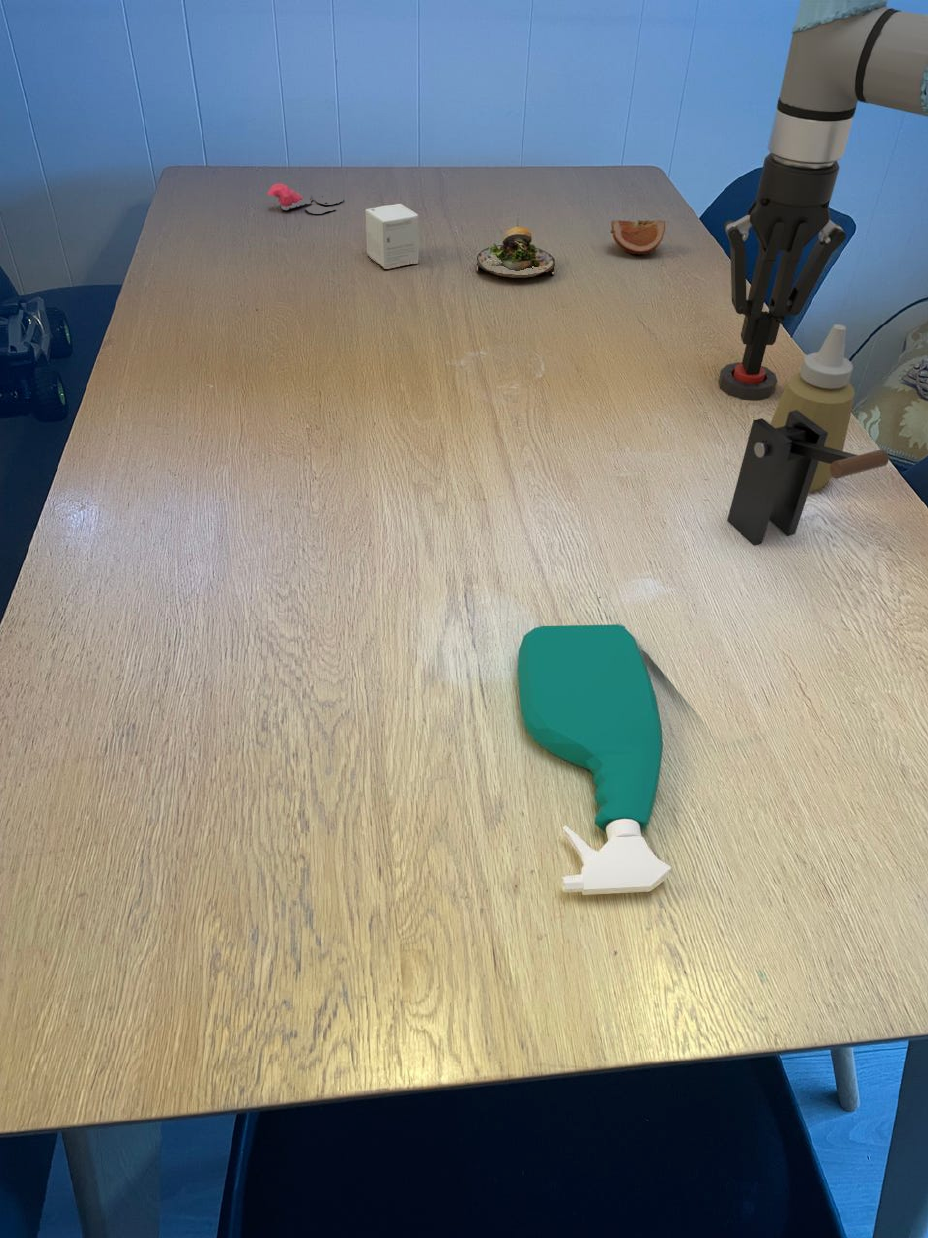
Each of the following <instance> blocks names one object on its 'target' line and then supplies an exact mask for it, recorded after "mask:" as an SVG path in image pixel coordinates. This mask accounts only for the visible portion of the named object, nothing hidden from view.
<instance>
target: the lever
mask: <svg viewBox="0 0 928 1238" xmlns="http://www.w3.org/2000/svg"><path fill="white" fill-rule="evenodd" d="M776 429H777V430H778V431H779V432H781V433H782V434H783V435H785V436H786V437H787V438H788V439H790V440H791V441H792V445H791V449H790V452H789V455H788V459H787V461H790V460H794V459H798V458H802V457H808V458H811V459H814V460H818V461H821V462H825V463H828V464H831V465H830V473H831V475H832V477H833V478H834V479H841V478H845V477H849V476H853V475H856V474H860V473H864V472H867V471H872V470H876V469H879V468H882V467H885V466H887V465H888V463H889V455H888V452H887V451H886V450H884V449H877V450H873V451H869V452H865V453H861V454H855V453H851V452H847V451H844V450H843V451H840V450H837V449H833V448H829V447H825V446H822V445H818V444H814V443H810V442H807V441H806V431H803V430H799V429H795V428H792V427H788V426H783V427H779V428H776Z"/></svg>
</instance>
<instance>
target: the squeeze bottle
mask: <svg viewBox="0 0 928 1238" xmlns="http://www.w3.org/2000/svg"><path fill="white" fill-rule="evenodd" d="M846 335H847V326H846V325H843V324H840V323H835V324H834V325H833V326H832V327H831V329H830V331H829V333H828V334H827V336H826V338H825V340H824V341H823V344H821V345H822V346H821V347H820V349H819V350H818V352H816V351H815V352H812V353H809V354H806V355H805V357H804V358H803V362H802V363H801V367H800V371H799V372H798V373H794V374H793V375H791V376H790V377H789V379H788V380H787V382H786V384H785V386H784V389H783V392H782V394H781V396H780V399H779V401H778V404H777V407H776V409H775V411H774V413H773V417H772V419H771V421H770V423H769V424H770V425H772V426H773V427H774V428H779V427H783V426H785V424H786V420H787V417H788V413H789V412H791V411H795V410H798V411H799V412H800V413H802V414H803V415H805V416H806V417H807V418H809V419H810V420H811V421H813V422H814V423H815V424H817V425H818V426H819V427H821V428H822V429H824V430H825V431H826V432H828V435H827V438H826V441H825V444H824V446H825V447H829V448H833V449H837V450H840V451H844V446H845V442H846V438H847V432H848V428H849V424H850V419H851V415H852V410H853V405H854V402H855V401H854V400H855V396H856V391H855V388H854V387H853V385H852V384H851V383H850V379H851V376H852V373H853V371H854V366H853V362H851V361H850V360H849V359H848V358H846V357H845V350H846V349H845V347H846ZM830 465H831V464H828V463H825V462H821V461H819V463H818V466H817V469H816V472H815V475H814V478H813V481H812V484H811V487H810V490H809V493H815V492H817V491H819V490H821V489H823V488H824V487H825V485H826V484H827V483H828V482H829V481H830V480H831V478H832V477H833V476H832V475H831V473H830Z"/></svg>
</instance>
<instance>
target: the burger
mask: <svg viewBox="0 0 928 1238" xmlns="http://www.w3.org/2000/svg"><path fill="white" fill-rule="evenodd" d="M517 215H519V213H518V214H517ZM516 225H517V226H515V227H512V228H510V229H508V230H507V231H506V232H505V233H504V234H503V236H502V244H498V245H497V244H496V243H493V246H490V247H487V248H484V249H482V250H481V251H480V252H479V253H478V254H477V255H476V265H477V266H478V269H479V270H480V268H481V269H482V270H484V271H486V272H489V273H491V274H494V275H496V276H500V277H504V278H506V277H508V278H515V279H516V278H518V279H519V278H524V279H525V278H531V277H532V278H533V277H535V276H538V275H540V274H544V273H545V272H546V273H548V272H549V271H552V272H554V271H555V270H554V266H555V267H556V260H555V258H554V257H553V255H551V254H550V253H549V252H547V251H545V250H543V249H541V248H538V247H536V245H535V244H533V243H532V241H533V240H532V238H533V237H532V233H531V232H530V230H529V229H527V228H526V227H522V226H519V219H517V223H516ZM531 243H532V244H531ZM494 255H495V256H496V257H497V258H498V259H499V260H501V262H502V263H500V262H498V261H497V260H495V261H493V262H491V263H492V265H491V266H504V267H506V268H508V269H509V270H515V271H520V270H524V269H526V268H532V266H534V267H539V266H541V267H542V266H545V268H543V269H545V270H541V269H542V268H541V269H538V270H535V271H539V270H541V272H539V273H533V272H532V273H533V274H531V273H530V274H528V275H524V274H522V275H515V274H503V273H497V272H494V271H491V270H489V269H486V268H485V267H484V266H489V265H487V263H488V262H487V263H485V262H486V261H488V260H489V258H491V257H494ZM494 259H495V258H494ZM494 259H493V260H494ZM489 261H492V260H489ZM497 262H498V263H499V264H498V263H497ZM491 263H489V264H491ZM495 263H496V264H495ZM552 268H553V269H552ZM532 269H533V268H532ZM525 274H527V273H525Z"/></svg>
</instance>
